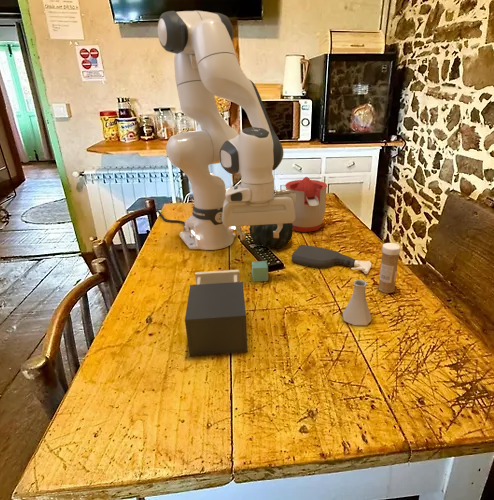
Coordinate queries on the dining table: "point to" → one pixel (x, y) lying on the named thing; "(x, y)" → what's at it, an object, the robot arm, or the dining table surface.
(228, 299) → the dark grey box
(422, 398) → the dining table surface
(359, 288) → the flask
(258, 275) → the block
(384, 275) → the sprinkles bottle
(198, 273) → the tray
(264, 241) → the squash
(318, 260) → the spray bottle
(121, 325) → the dining table surface
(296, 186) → the citrus juicer
